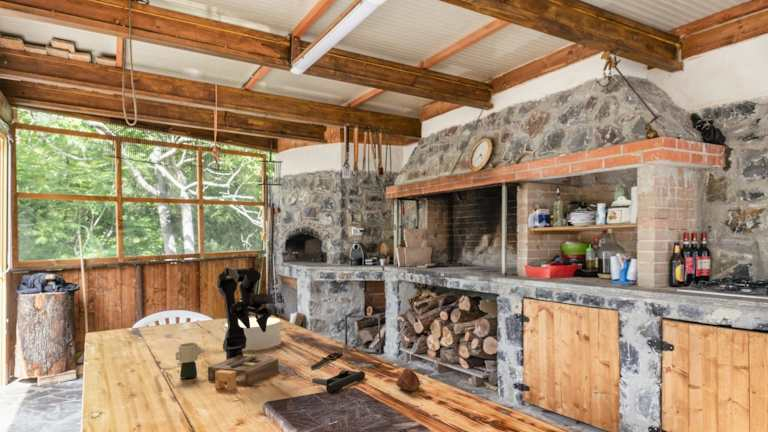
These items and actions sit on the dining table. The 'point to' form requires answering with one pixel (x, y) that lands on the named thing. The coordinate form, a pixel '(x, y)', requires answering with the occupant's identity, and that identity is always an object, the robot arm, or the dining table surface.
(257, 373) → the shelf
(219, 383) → the tall grooved wooden block
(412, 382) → the fossil
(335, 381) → the door handle
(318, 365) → the knife
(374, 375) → the dining table surface
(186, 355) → the character mug
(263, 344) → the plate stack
